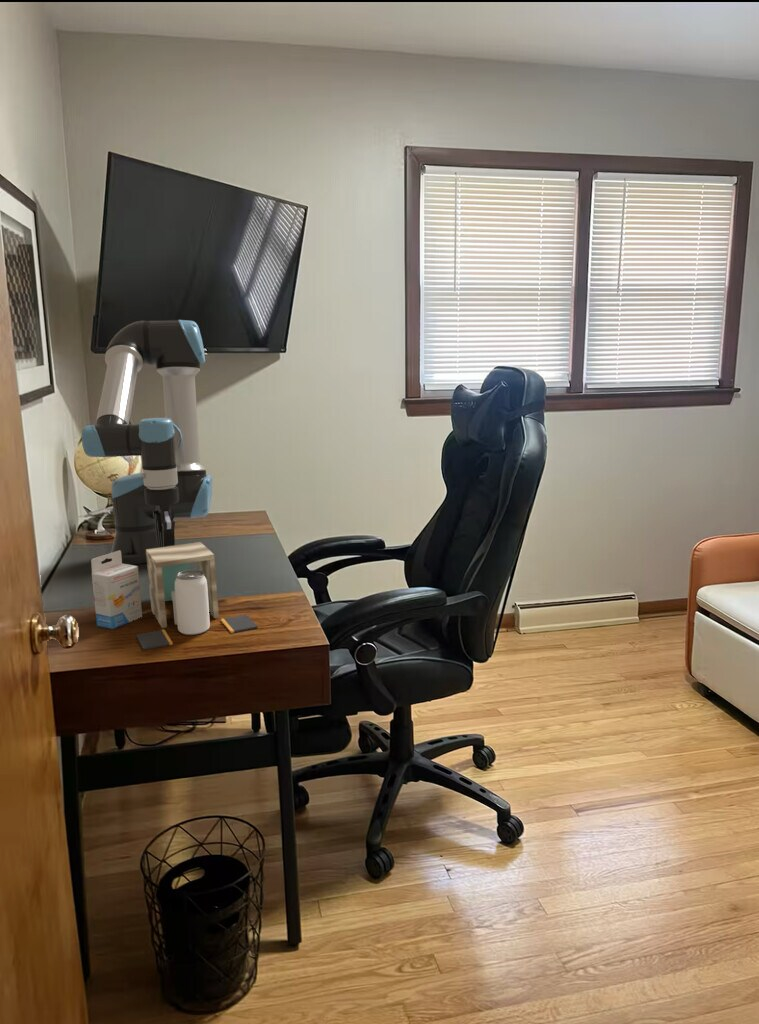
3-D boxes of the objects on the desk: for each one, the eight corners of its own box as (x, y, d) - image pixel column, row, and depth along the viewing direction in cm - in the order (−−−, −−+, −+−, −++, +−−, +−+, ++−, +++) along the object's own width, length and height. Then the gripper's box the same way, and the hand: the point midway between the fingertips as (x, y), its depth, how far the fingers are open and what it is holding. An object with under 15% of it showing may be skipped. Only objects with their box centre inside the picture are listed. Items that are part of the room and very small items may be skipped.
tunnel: (151, 610, 166) (145, 549, 163) (205, 601, 172) (200, 541, 168) (162, 628, 156) (156, 562, 153) (218, 617, 161) (214, 554, 158)
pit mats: (136, 636, 152) (136, 634, 152) (246, 616, 162) (246, 614, 162) (143, 650, 145) (143, 648, 145) (257, 628, 155) (257, 626, 155)
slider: (155, 600, 172) (152, 562, 170) (190, 594, 175) (187, 557, 173) (173, 626, 155) (169, 585, 153) (211, 619, 159) (208, 579, 157)
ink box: (113, 630, 156) (105, 562, 152) (96, 626, 158) (88, 559, 155) (143, 616, 163) (137, 551, 160) (127, 613, 165) (120, 549, 162)
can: (191, 620, 159) (187, 567, 156) (216, 625, 156) (213, 571, 153) (171, 632, 153) (166, 577, 150) (197, 637, 150) (193, 582, 147)
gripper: (139, 483, 175) (147, 580, 180) (149, 492, 163) (157, 595, 169) (171, 480, 178) (179, 575, 183) (183, 489, 167) (191, 590, 172)
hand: (169, 584), depth 176 cm, fingers closed
